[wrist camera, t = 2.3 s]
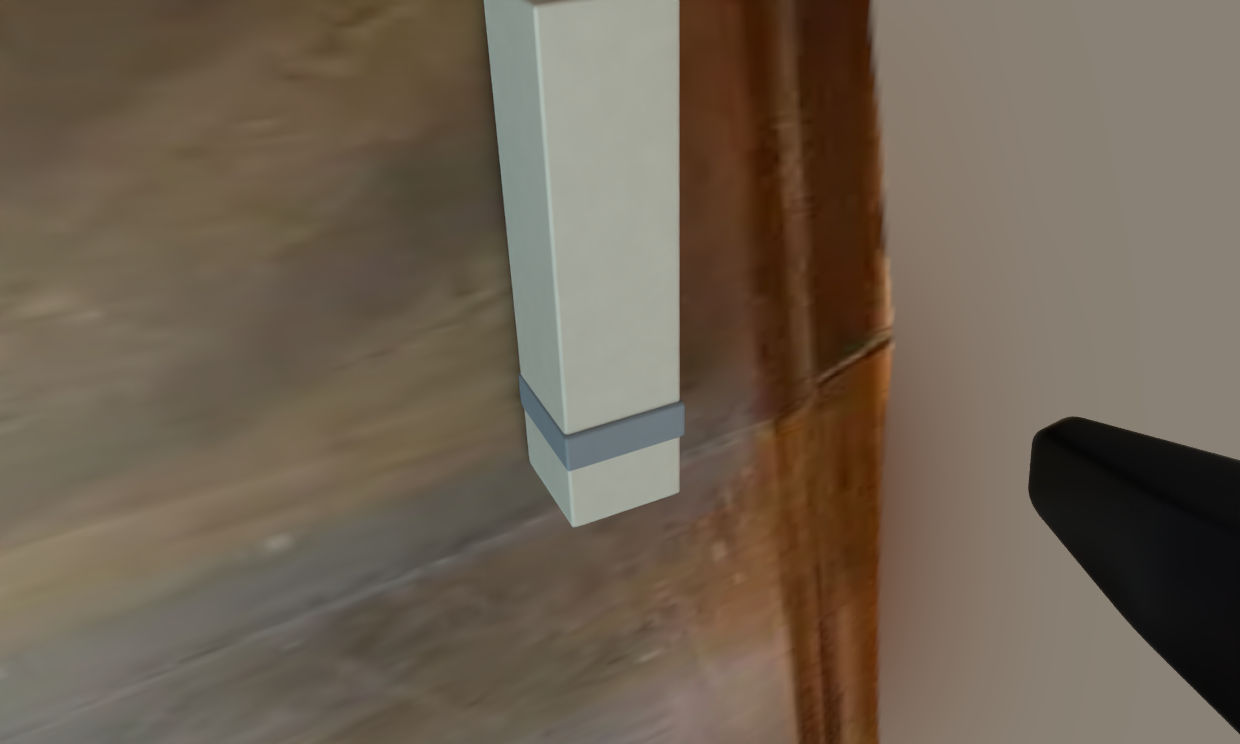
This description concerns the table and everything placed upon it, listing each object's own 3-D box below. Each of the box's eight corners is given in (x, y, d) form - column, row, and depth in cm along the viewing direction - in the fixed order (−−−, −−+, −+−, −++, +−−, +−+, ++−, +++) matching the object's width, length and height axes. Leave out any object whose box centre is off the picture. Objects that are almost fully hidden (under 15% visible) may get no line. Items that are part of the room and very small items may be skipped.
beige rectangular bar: (614, -124, 17) (687, -102, 15) (632, 430, 23) (685, 495, 21) (468, -109, 16) (526, -83, 14) (526, 463, 22) (572, 533, 21)
